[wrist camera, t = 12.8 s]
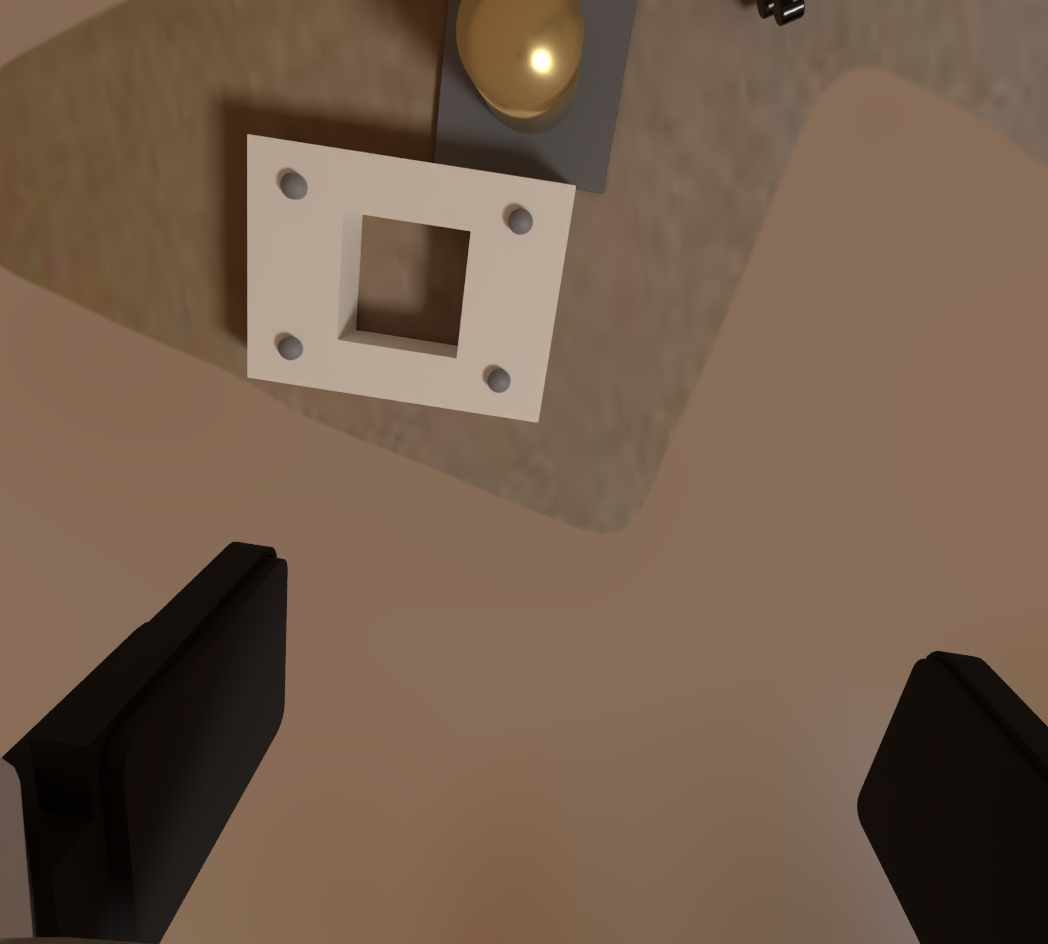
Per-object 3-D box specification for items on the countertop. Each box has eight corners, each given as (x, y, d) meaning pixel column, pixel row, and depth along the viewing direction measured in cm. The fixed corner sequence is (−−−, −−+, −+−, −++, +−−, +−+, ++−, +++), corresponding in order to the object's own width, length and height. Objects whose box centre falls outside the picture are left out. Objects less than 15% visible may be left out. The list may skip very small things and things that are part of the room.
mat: (637, -7, 32) (638, -10, 32) (602, 193, 35) (603, 192, 35) (453, -36, 32) (451, -39, 32) (434, 167, 35) (433, 166, 35)
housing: (574, 188, 35) (576, 185, 32) (540, 406, 40) (538, 424, 36) (276, 142, 35) (243, 133, 32) (273, 364, 40) (244, 378, 36)
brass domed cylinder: (586, 31, 33) (594, -36, 24) (570, 139, 34) (573, 112, 26) (488, 17, 33) (462, -54, 24) (477, 126, 34) (450, 95, 26)
